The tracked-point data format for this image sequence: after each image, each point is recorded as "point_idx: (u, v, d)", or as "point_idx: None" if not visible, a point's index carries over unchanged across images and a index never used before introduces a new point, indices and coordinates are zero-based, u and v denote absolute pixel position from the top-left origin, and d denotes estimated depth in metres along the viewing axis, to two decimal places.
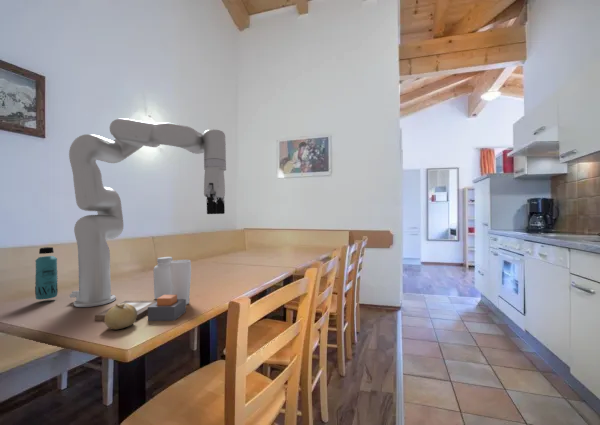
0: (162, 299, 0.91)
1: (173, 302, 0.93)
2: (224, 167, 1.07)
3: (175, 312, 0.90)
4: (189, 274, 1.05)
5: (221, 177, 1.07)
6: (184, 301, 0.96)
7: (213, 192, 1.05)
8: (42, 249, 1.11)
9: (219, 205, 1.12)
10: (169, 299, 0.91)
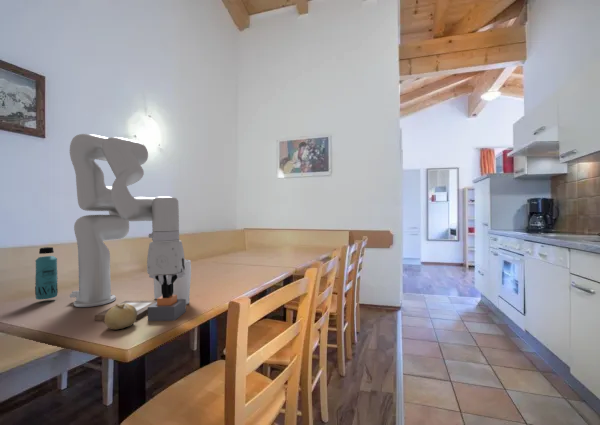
0: (162, 299, 0.91)
1: (173, 302, 0.93)
2: None
3: (175, 312, 0.90)
4: (189, 274, 1.05)
5: None
6: (184, 301, 0.96)
7: None
8: (42, 249, 1.11)
9: None
10: (169, 299, 0.91)
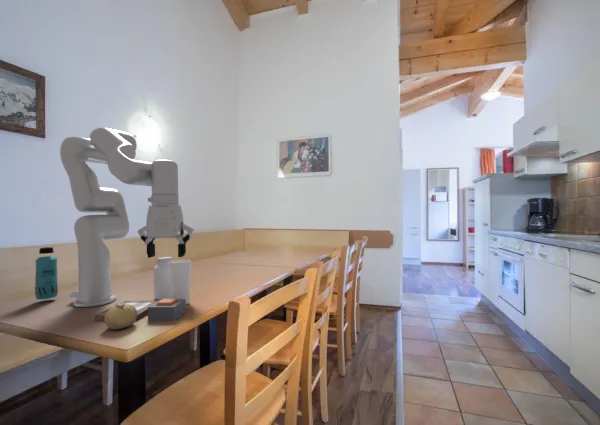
0: (162, 303, 0.91)
1: None
2: None
3: (175, 312, 0.90)
4: (189, 274, 1.05)
5: None
6: (184, 301, 0.96)
7: None
8: (42, 249, 1.11)
9: (152, 247, 0.94)
10: (169, 303, 0.91)
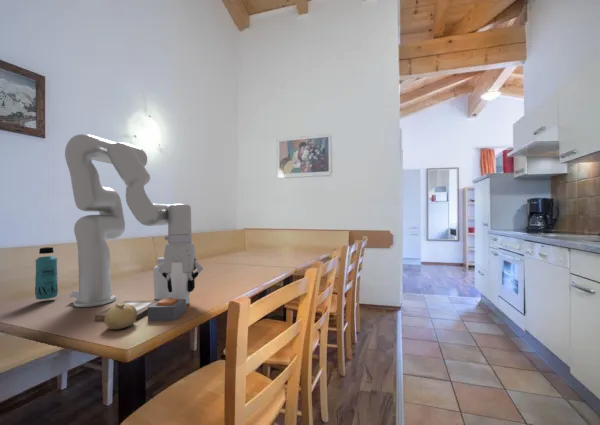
0: (162, 303, 0.91)
1: None
2: None
3: (175, 312, 0.90)
4: None
5: None
6: (184, 301, 0.96)
7: None
8: (42, 249, 1.11)
9: None
10: (169, 303, 0.91)
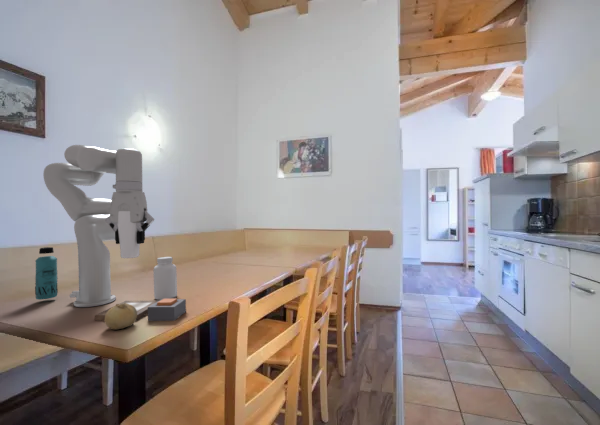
0: (162, 303, 0.91)
1: None
2: None
3: (175, 312, 0.90)
4: None
5: None
6: (184, 301, 0.96)
7: None
8: (42, 249, 1.11)
9: None
10: (169, 303, 0.91)
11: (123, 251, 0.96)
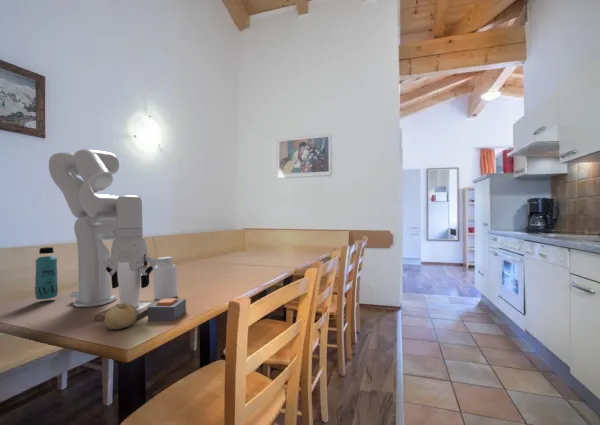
0: (162, 303, 0.91)
1: None
2: None
3: (175, 312, 0.90)
4: (138, 274, 0.98)
5: None
6: (184, 301, 0.96)
7: None
8: (42, 249, 1.11)
9: (117, 277, 0.98)
10: (169, 303, 0.91)
11: (123, 302, 0.95)
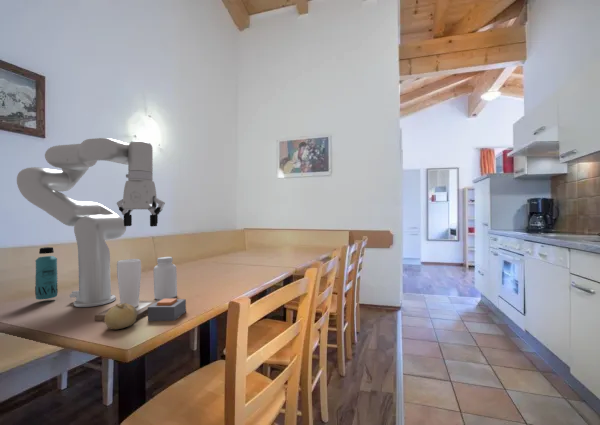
0: (162, 303, 0.91)
1: None
2: None
3: (175, 312, 0.90)
4: (138, 274, 0.98)
5: None
6: (184, 301, 0.96)
7: None
8: (42, 249, 1.11)
9: (129, 217, 1.07)
10: (169, 303, 0.91)
11: (123, 302, 0.95)
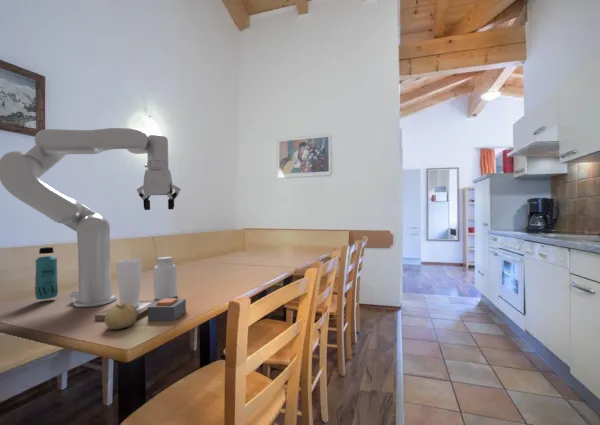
0: (162, 303, 0.91)
1: None
2: None
3: (175, 312, 0.90)
4: (138, 274, 0.98)
5: None
6: (184, 301, 0.96)
7: None
8: (42, 249, 1.11)
9: (148, 202, 1.21)
10: (169, 303, 0.91)
11: (123, 302, 0.95)
